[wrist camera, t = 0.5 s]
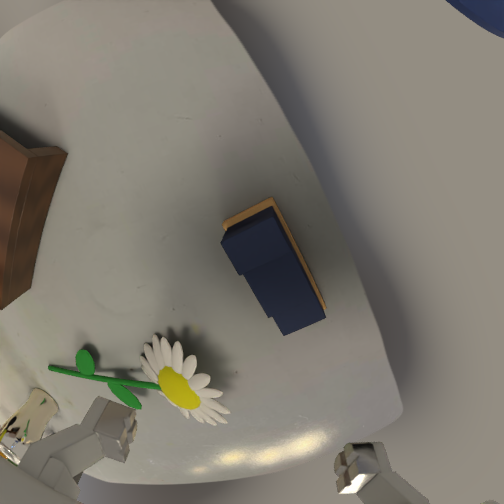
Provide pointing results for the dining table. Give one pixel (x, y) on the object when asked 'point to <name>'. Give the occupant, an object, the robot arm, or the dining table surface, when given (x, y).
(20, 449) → the beer glass
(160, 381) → the decorative flower
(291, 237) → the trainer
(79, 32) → the dining table surface
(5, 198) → the brown wooden stand
